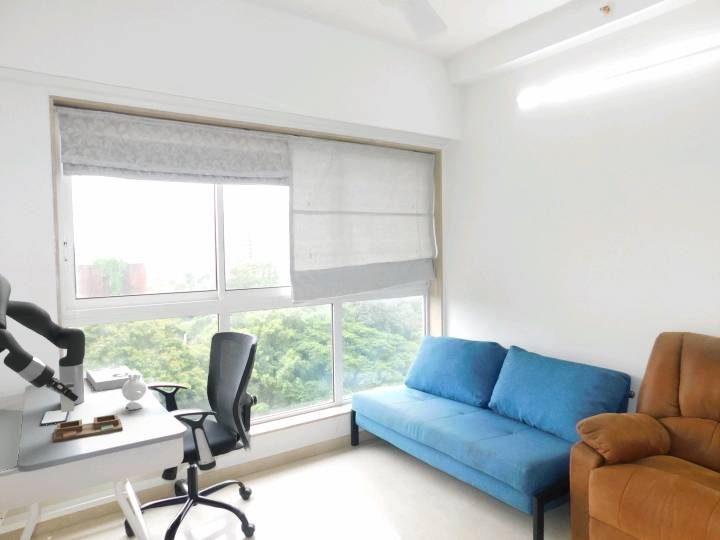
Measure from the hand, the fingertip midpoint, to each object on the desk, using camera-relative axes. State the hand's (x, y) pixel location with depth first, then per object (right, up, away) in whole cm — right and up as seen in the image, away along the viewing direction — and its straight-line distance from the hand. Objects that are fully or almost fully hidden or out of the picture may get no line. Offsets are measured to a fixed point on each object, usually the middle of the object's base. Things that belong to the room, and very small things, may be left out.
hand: (73, 397), depth 181 cm
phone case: (-16, -13, +15) cm, 26 cm away
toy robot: (+10, -12, +29) cm, 33 cm away
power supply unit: (-23, -11, +73) cm, 77 cm away
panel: (+5, -13, +1) cm, 14 cm away
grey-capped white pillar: (-1, -4, -1) cm, 5 cm away
